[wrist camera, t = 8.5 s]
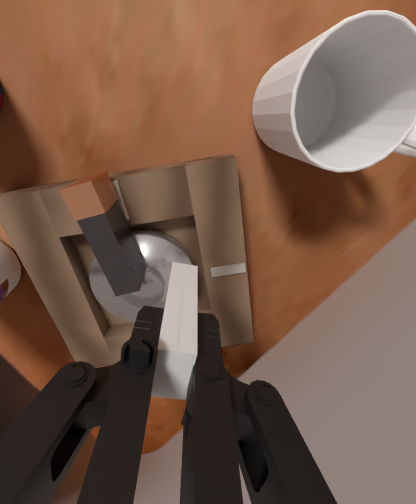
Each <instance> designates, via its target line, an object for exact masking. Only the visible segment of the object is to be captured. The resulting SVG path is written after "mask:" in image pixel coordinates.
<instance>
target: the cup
mask: <svg viewBox="0 0 416 504" xmlns="http://www.w3.org/2000/svg"><path fill="white" fill-rule="evenodd" d="M1 107H2V91H1V87H0V111H1Z"/></svg>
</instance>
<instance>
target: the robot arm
mask: <svg viewBox="0 0 416 504" xmlns="http://www.w3.org/2000/svg"><path fill="white" fill-rule="evenodd" d="M197 284H198V266H194V265H188V264H182V263H176V262H172V268H171V274H170V279H169V285H168V291H167V297H166V303H165V308H159V307H152V306H145V305H144V306H143V307H142V308H141V309H140V310H139V311H138V314H137V317H136V321H135V324H134V328H133V330H132V334H131V337H130V339H129V340H128V341H126V342H125V343H124V344H123V346H122V348H121V358H120V361H118V362H117V363H115V364H113V365H110V366H107V367H101V368H94V366H93V365H91V364H90V363H88V362H83V361H78V362H72V363H70V364H68V365H65V366H64V367H63V368H61V369H60V370H59V371H58V372H57V373H56V374H55V376H54V377H53V378H52V379H51V380H50V381H49V382H48V384H47V385H46V386H45V387H44V388H43V389H42V390H41V392H40V393H39V394H38V395H37V396H36V397H35V399H34V400H33V401H32V402H31V403H30V404H29V405H28V407H27V408H26V409H25V410H24V411H23V412H22V413H21V415H20V416H19V417H18V418H17V419H16V420H15V422H14V423H13V424H12V425H11V426H10V427H9V429H8V430H7V431H6V432H5V433H4V434H3V435H2V436H1V438H0V504H48V503H49V501H50V500H51V498H52V496H53V495H54V493H55V491H56V489H57V488H58V486H59V484H60V483H61V481H62V479H63V477H64V476H65V474H66V472H67V471H68V469H69V467H70V466H71V464H72V462H73V461H74V459H75V457H76V455H77V454H78V452H79V450H80V449H81V447H82V445H83V443H84V442H85V440H86V438H87V437H88V435H89V433H90V432H91V430H92V428H93V427H97V426H101V427H100V430H99V433H98V436H97V440H96V443H95V446H94V449H93V453H92V456H91V459H90V462H89V465H88V469H87V472H86V475H85V478H84V482H83V485H82V488H81V491H80V495H79V498H78V501H77V504H133V501H134V494H135V489H136V483H137V476H138V471H139V464H140V459H141V453H142V447H143V441H144V435H145V428H146V422H147V416H148V410H149V404H150V398H151V396H153V397H163V398H173V399H183V400H185V399H186V395H187V402H186V408H185V412H184V416H183V419H182V423H181V425H184V427H183V449H182V450H183V451H182V469H181V489H180V504H243V498H242V489H241V480H240V472H239V465H240V468H241V471H242V475H243V478H244V481H245V484H246V487H247V491H248V494H249V497H250V500H251V503H252V504H337V502H336V500H335V498H334V496H333V495H332V493H331V491H330V489H329V487H328V485H327V483H326V481H325V479H324V478H323V476H322V474H321V472H320V470H319V468H318V466H317V464H316V462H315V461H314V459H313V457H312V455H311V453H310V451H309V449H308V447H307V445H306V443H305V441H304V439H303V438H302V436H301V434H300V432H299V430H298V428H297V426H296V424H295V422H294V420H293V419H292V417H291V415H290V413H289V411H288V409H287V407H286V405H285V403H284V401H283V399H282V398H281V396H280V394H279V392H278V391H277V390H276V388H275V387H273V386H272V385H271V384H269V383H267V382H265V381H260V380H256V381H254V382H252V383H251V384H250V385H247V384H245V383H243V382H240V381H238V380H236V379H234V378H233V377H232V376H230V375H229V374H228V372H227V370H226V369H225V367H224V364H223V357H222V347H221V338H220V328H219V321H218V320H217V318H216V317H215V315H214V314H206V313H199V312H197ZM238 462H239V463H238Z"/></svg>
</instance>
